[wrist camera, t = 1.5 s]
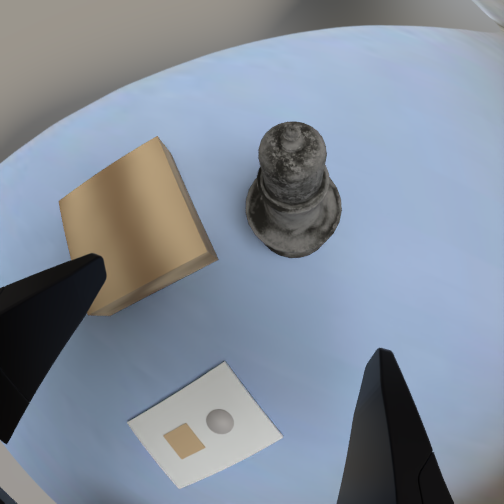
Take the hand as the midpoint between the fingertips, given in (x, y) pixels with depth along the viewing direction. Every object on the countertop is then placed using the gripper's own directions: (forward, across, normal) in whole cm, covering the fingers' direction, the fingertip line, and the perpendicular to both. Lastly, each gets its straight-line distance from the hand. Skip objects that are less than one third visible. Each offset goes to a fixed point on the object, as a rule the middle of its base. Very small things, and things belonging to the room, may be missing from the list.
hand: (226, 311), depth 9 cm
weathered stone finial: (+14, 0, +4) cm, 14 cm away
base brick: (+11, +11, +7) cm, 17 cm away
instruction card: (+2, +2, +16) cm, 16 cm away
